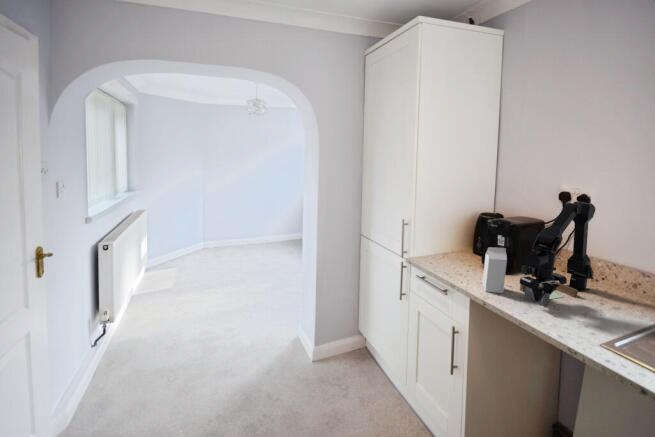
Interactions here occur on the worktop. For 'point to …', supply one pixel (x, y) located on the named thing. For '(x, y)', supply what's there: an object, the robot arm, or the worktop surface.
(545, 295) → the bracket
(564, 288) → the wooden corner frame
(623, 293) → the worktop surface
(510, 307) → the worktop surface
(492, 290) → the milk carton
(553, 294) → the pad
